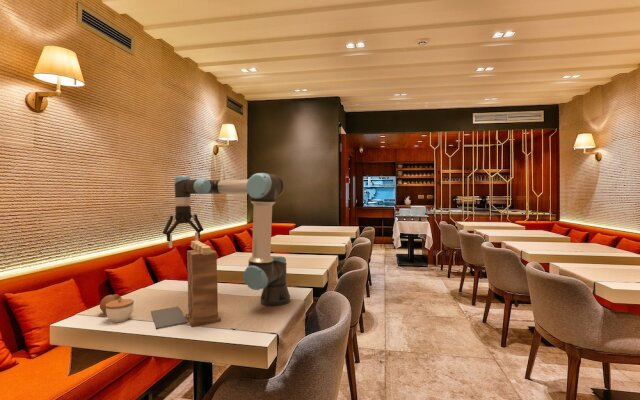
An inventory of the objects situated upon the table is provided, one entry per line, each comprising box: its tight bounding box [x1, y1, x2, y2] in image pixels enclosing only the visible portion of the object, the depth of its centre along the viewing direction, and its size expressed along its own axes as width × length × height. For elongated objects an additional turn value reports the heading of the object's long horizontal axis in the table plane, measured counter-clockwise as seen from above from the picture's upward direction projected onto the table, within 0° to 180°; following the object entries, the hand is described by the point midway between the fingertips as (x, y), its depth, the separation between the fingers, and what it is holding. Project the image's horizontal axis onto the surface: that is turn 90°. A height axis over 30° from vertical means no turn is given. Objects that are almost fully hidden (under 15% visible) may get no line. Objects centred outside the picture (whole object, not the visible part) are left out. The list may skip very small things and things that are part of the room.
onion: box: [99, 293, 123, 315], centre depth 156 cm, size 10×9×10 cm
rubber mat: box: [150, 305, 189, 330], centre depth 150 cm, size 24×12×1 cm, turn 32°
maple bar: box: [190, 239, 212, 255], centre depth 150 cm, size 26×3×3 cm, turn 32°
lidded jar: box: [105, 298, 135, 323], centre depth 148 cm, size 11×11×9 cm
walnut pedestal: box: [185, 248, 222, 328], centre depth 147 cm, size 14×12×30 cm
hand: (184, 246), depth 175 cm, fingers open, 13 cm apart
